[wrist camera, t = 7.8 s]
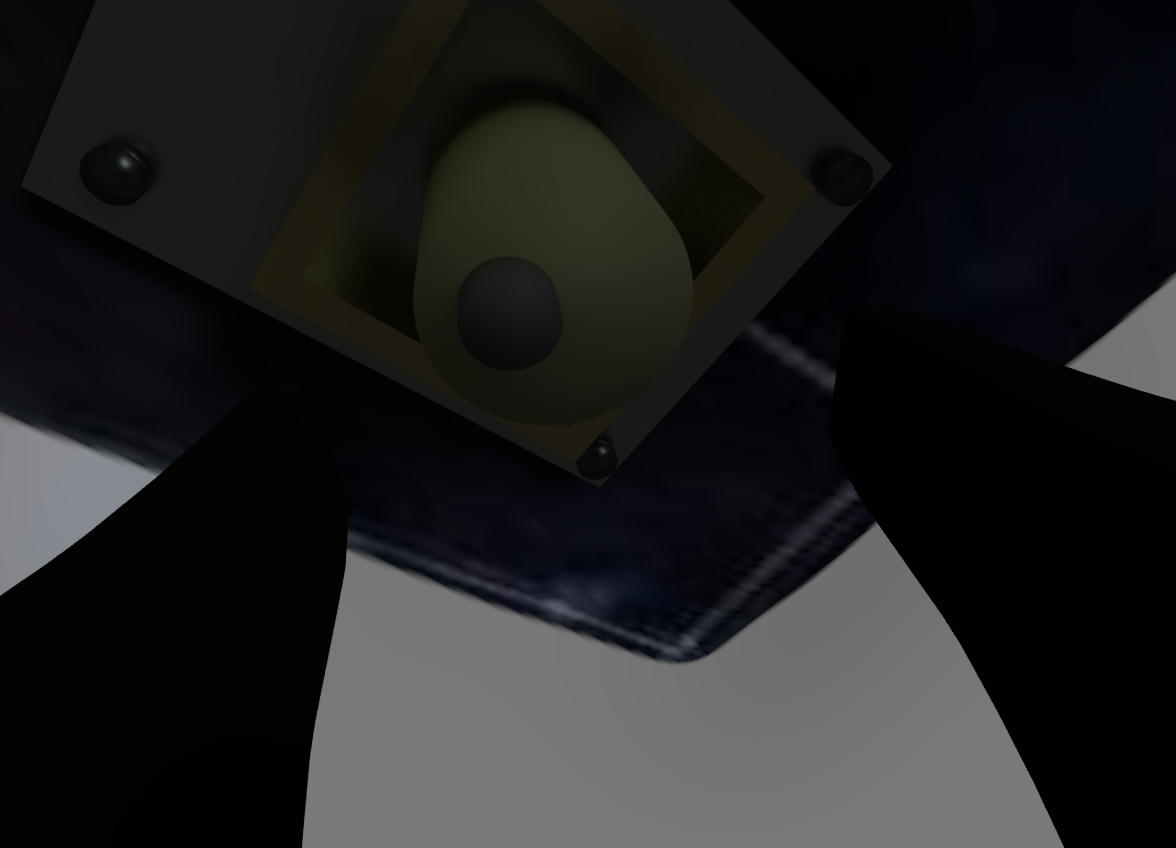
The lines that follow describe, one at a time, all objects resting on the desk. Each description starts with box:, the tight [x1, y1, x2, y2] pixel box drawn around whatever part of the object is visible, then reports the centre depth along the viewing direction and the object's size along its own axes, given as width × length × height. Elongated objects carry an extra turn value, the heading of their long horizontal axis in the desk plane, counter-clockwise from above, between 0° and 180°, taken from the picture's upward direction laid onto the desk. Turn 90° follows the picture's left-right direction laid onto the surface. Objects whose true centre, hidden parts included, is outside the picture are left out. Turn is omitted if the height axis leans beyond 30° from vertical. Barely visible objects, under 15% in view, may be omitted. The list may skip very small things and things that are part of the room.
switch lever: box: [413, 88, 693, 425], centre depth 15 cm, size 5×5×7 cm
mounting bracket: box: [21, 0, 893, 487], centre depth 17 cm, size 16×12×4 cm
